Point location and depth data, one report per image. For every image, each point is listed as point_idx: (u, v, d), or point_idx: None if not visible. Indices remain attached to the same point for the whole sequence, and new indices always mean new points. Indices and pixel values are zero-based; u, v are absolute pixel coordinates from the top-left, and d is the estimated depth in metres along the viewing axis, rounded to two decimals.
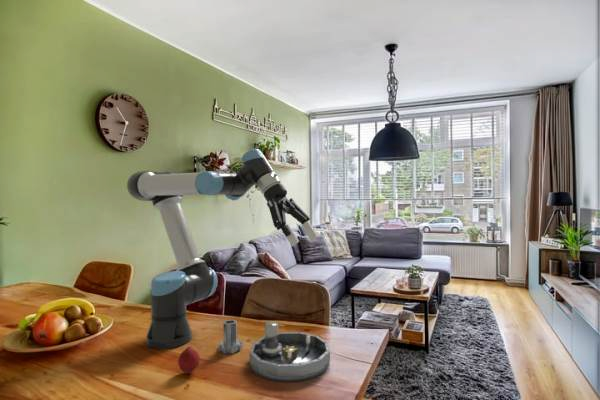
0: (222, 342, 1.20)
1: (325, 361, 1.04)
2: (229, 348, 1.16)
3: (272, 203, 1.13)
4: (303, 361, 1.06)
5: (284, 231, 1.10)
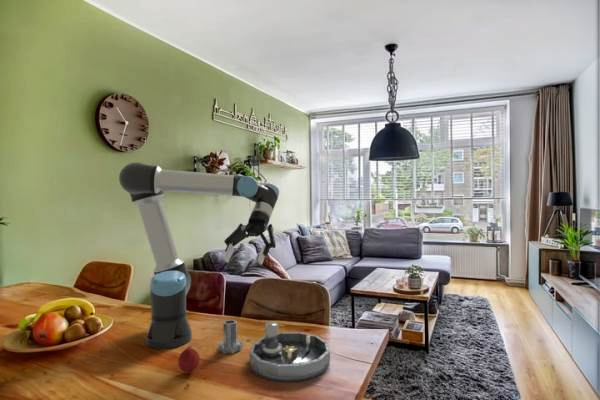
0: (222, 342, 1.20)
1: (325, 361, 1.04)
2: (229, 348, 1.16)
3: (272, 230, 1.34)
4: (303, 361, 1.06)
5: (267, 250, 1.27)
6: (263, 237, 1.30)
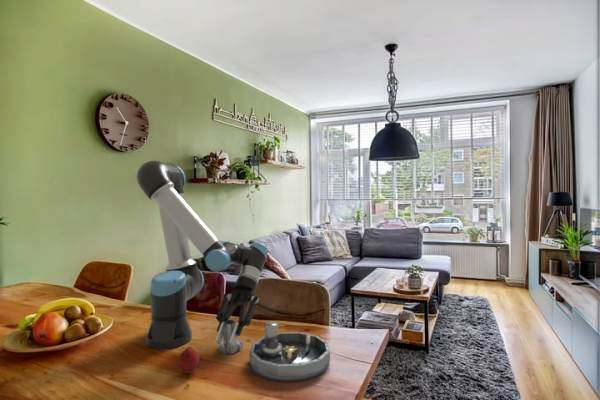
0: (222, 342, 1.20)
1: (325, 361, 1.04)
2: (229, 348, 1.16)
3: (256, 303, 1.24)
4: (303, 361, 1.06)
5: (240, 330, 1.17)
6: (241, 311, 1.21)
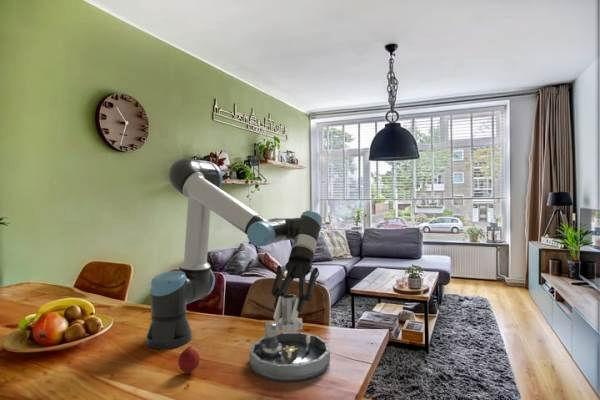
0: (280, 320, 1.03)
1: (325, 361, 1.04)
2: (290, 326, 1.00)
3: (317, 276, 1.08)
4: (303, 361, 1.06)
5: (302, 305, 1.01)
6: (301, 285, 1.04)
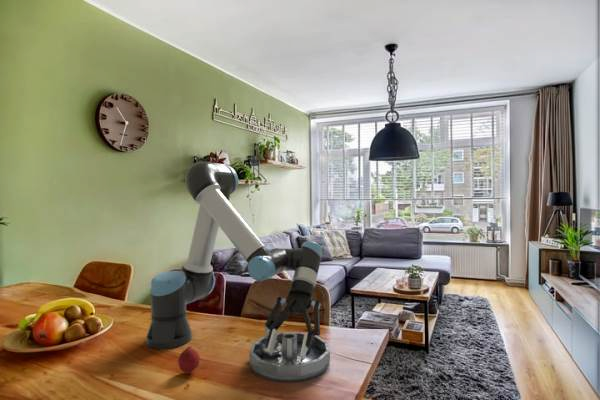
0: (280, 359, 1.03)
1: (325, 361, 1.04)
2: None
3: (319, 308, 1.08)
4: (303, 361, 1.06)
5: (311, 340, 1.01)
6: (306, 319, 1.04)
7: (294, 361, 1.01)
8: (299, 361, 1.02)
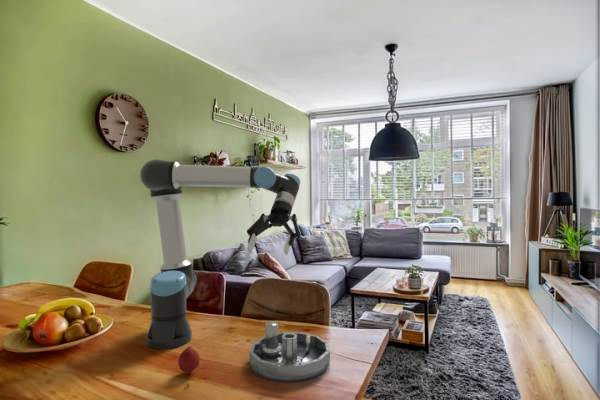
0: (280, 359, 1.03)
1: (325, 361, 1.04)
2: None
3: (296, 220, 1.31)
4: (303, 361, 1.06)
5: (293, 240, 1.23)
6: (287, 227, 1.27)
7: (294, 361, 1.01)
8: (299, 361, 1.02)
